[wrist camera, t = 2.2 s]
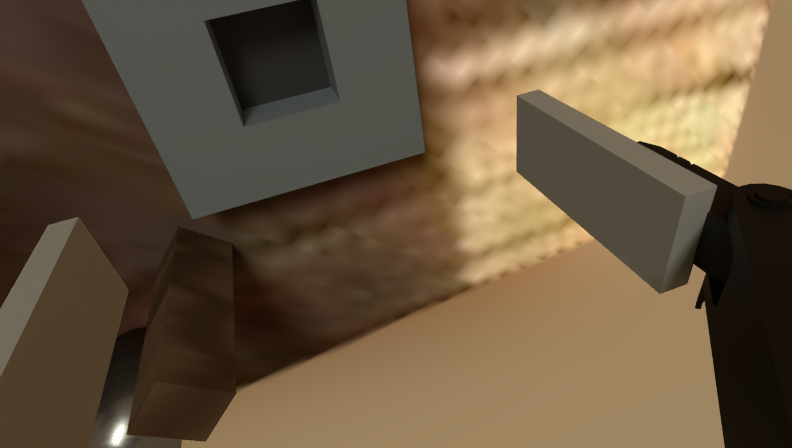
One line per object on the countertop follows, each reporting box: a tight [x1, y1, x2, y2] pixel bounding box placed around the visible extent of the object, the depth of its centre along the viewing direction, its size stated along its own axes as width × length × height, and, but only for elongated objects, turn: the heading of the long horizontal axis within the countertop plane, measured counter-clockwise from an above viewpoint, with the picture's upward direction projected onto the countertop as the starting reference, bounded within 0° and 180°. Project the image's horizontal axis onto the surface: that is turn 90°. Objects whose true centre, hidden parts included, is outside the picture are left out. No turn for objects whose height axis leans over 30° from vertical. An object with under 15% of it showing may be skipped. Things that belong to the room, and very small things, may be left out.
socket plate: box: [82, 0, 425, 219], centre depth 27 cm, size 16×16×4 cm
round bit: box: [88, 327, 182, 448], centre depth 34 cm, size 6×6×10 cm
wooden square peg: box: [127, 227, 236, 441], centre depth 29 cm, size 4×4×14 cm
